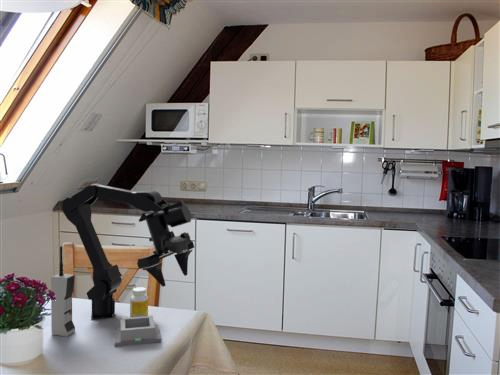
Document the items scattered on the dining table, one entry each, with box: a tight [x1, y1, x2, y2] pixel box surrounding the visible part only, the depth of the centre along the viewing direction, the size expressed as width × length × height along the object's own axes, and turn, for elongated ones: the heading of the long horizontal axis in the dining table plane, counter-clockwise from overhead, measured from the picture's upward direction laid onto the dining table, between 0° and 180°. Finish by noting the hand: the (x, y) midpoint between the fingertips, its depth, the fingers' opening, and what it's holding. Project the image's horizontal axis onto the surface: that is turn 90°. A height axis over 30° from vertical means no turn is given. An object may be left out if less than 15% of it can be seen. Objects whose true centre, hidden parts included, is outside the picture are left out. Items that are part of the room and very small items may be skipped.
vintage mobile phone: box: [50, 246, 76, 337], centre depth 121 cm, size 4×5×25 cm
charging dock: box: [114, 315, 162, 348], centre depth 121 cm, size 12×10×4 cm
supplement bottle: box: [129, 286, 149, 318], centre depth 134 cm, size 5×5×10 cm
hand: (175, 280), depth 131 cm, fingers open, 9 cm apart
